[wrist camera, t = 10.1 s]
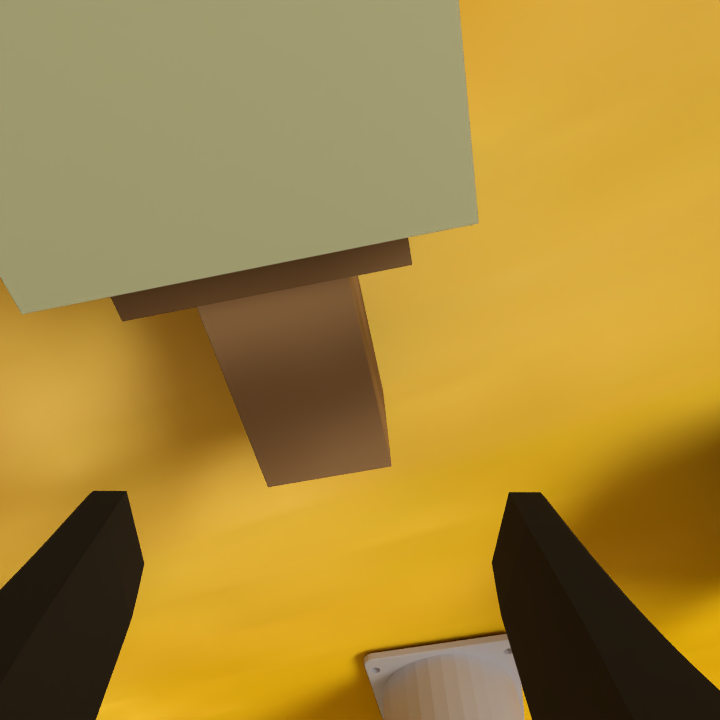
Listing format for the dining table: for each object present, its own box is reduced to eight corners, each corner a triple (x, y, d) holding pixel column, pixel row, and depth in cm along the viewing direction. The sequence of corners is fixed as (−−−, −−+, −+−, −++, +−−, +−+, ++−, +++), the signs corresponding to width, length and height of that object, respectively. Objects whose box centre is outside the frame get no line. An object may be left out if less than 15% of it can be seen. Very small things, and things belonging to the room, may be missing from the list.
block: (437, 151, 17) (478, 223, 12) (108, 220, 18) (22, 314, 13) (391, -225, 13) (426, -352, 8) (-41, -111, 13) (-257, -162, 9)
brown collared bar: (425, 383, 22) (446, 475, 18) (237, 417, 22) (215, 514, 18) (354, -43, 15) (361, -50, 11) (79, 23, 15) (-14, 40, 11)
